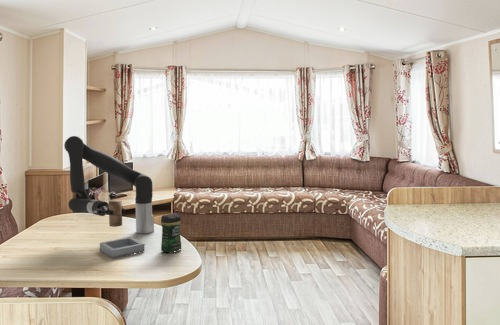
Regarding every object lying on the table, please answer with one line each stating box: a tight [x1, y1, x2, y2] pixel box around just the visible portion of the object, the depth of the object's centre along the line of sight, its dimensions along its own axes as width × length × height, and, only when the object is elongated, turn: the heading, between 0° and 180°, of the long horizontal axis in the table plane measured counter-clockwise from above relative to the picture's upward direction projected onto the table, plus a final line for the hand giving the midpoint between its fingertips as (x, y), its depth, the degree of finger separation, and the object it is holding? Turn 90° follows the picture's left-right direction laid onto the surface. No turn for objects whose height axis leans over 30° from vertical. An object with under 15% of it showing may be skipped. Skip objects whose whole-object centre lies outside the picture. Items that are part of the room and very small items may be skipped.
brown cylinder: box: [108, 199, 123, 228], centre depth 206 cm, size 6×6×12 cm
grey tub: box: [99, 236, 146, 260], centre depth 207 cm, size 16×16×4 cm
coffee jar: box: [160, 212, 182, 253], centre depth 207 cm, size 10×8×19 cm
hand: (118, 211), depth 205 cm, fingers closed on brown cylinder, 6 cm apart
